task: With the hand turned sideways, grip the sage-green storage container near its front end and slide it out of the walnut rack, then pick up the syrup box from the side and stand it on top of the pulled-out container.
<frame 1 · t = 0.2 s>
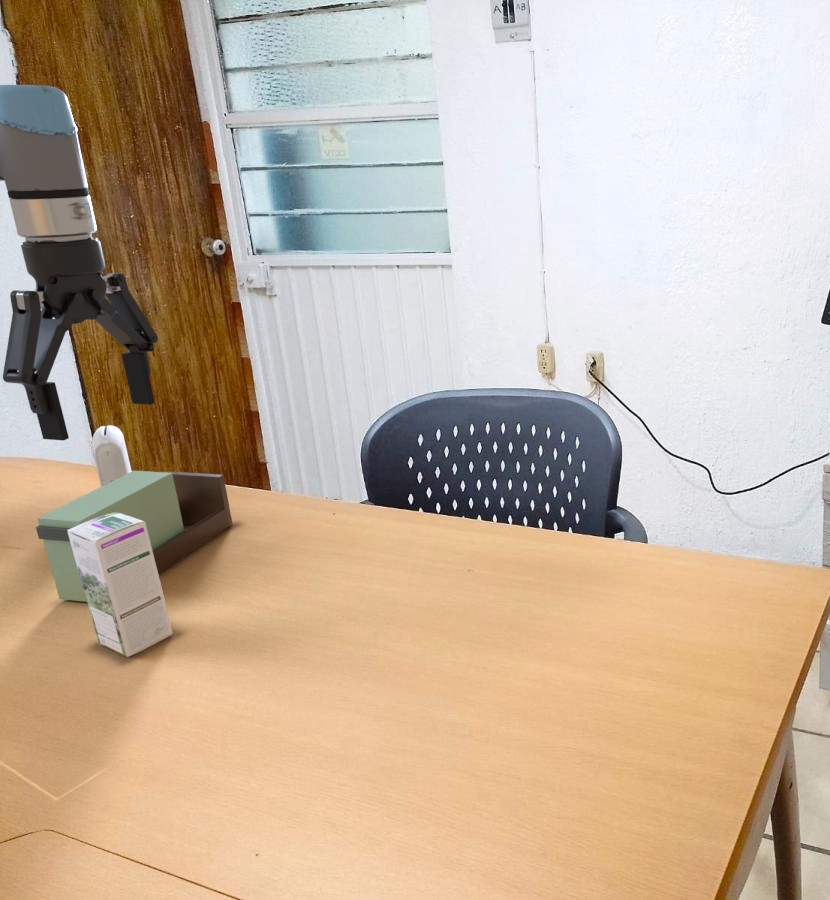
hand: (102, 420, 99), 22 cm above the table, tool pointing down, fingers open, 13 cm apart
syrup box: (136, 641, 94), on the table
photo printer: (122, 502, 133), on the table
rack: (164, 549, 116), on the table
container: (117, 533, 107), point 6 cm above the table, slide at 6.0 cm
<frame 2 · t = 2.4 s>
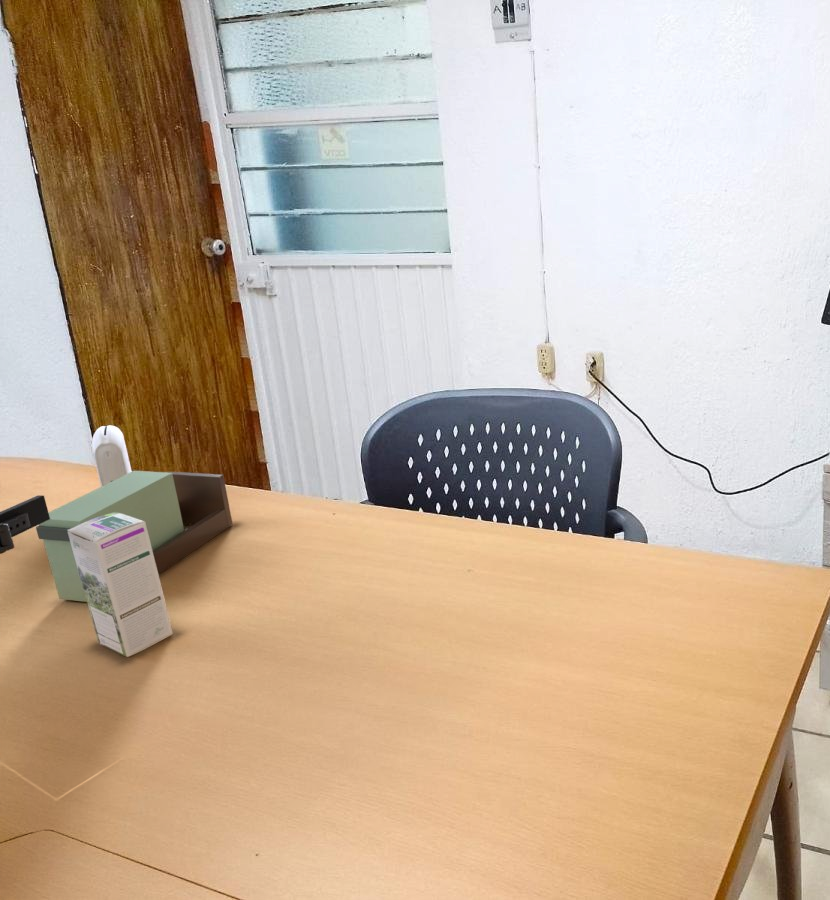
nothing on the table moved.
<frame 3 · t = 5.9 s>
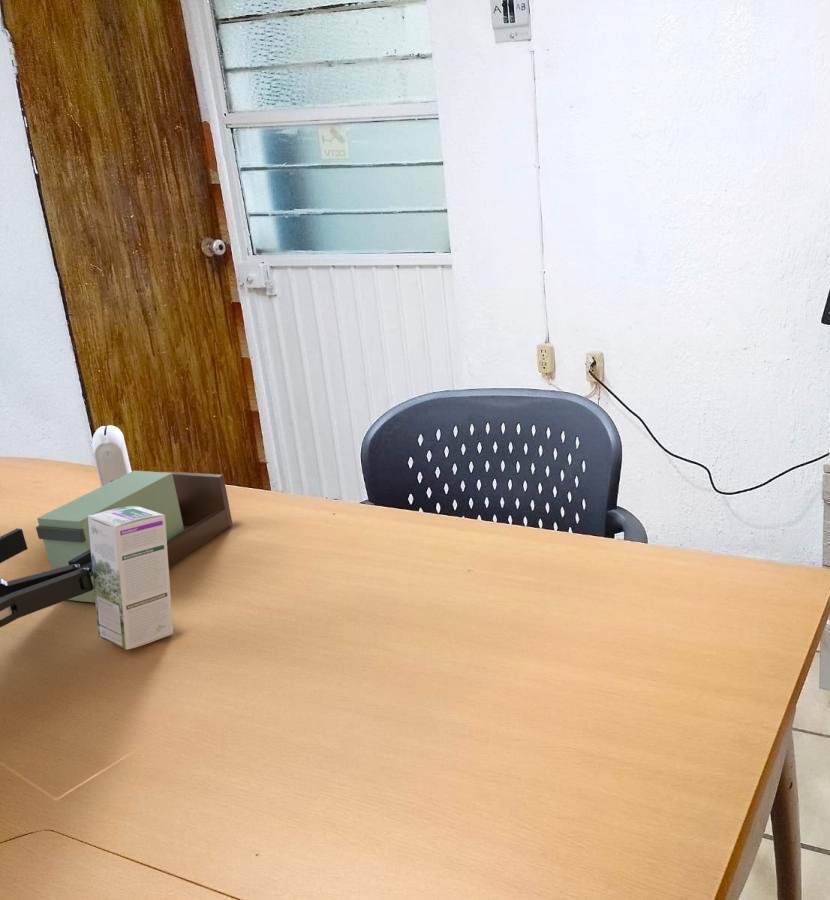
hand: (69, 542, 100), 8 cm above the table, tool horizontal, fingers open, 13 cm apart
syrup box: (135, 638, 94), on the table, touching gripper
everything else where it was.
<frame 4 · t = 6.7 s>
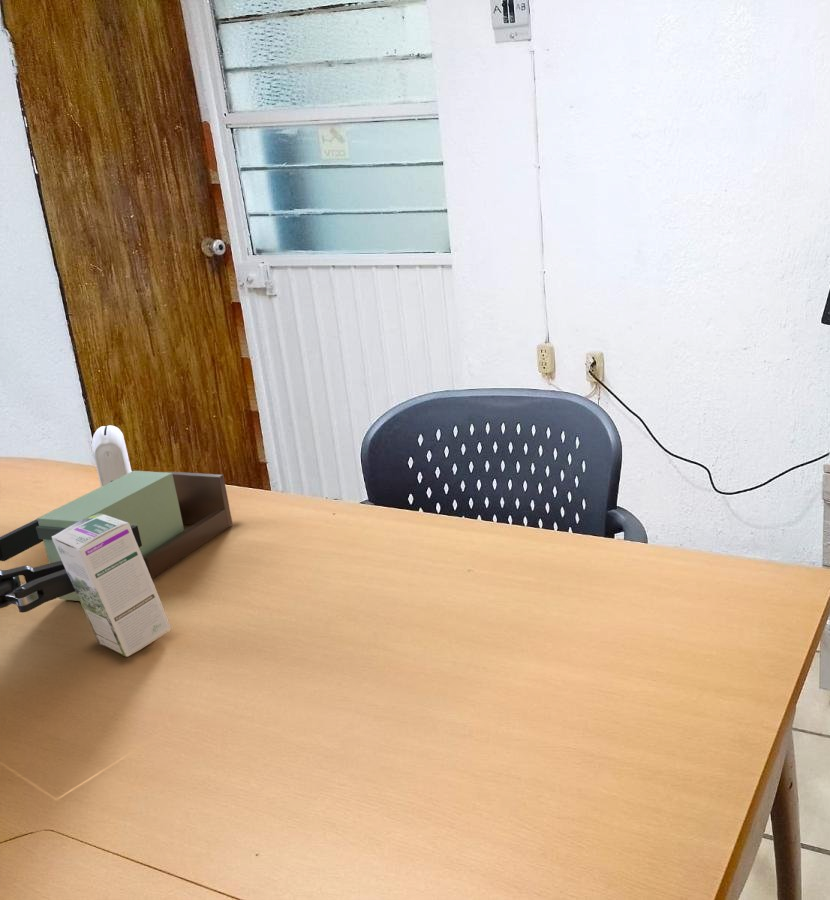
hand: (90, 531, 103), 8 cm above the table, tool horizontal, fingers open, 13 cm apart
syrup box: (135, 638, 94), on the table
everything else where it was.
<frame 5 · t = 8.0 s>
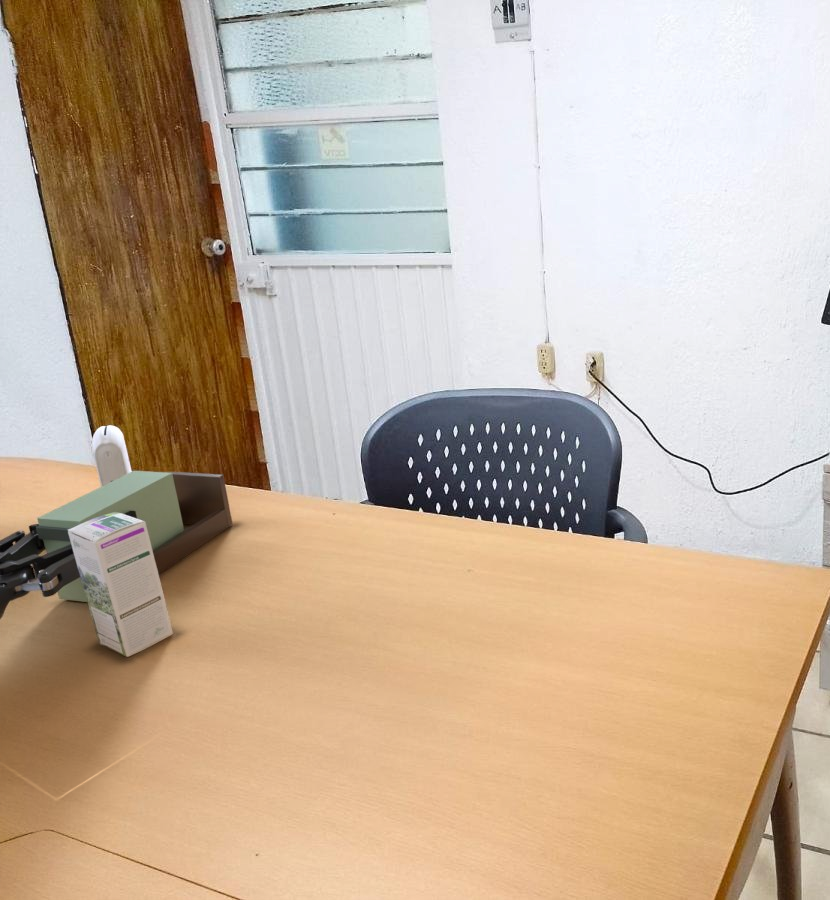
hand: (112, 518, 106), 8 cm above the table, tool horizontal, fingers closed on container, 6 cm apart
container: (117, 533, 107), point 6 cm above the table, slide at 6.0 cm, touching gripper
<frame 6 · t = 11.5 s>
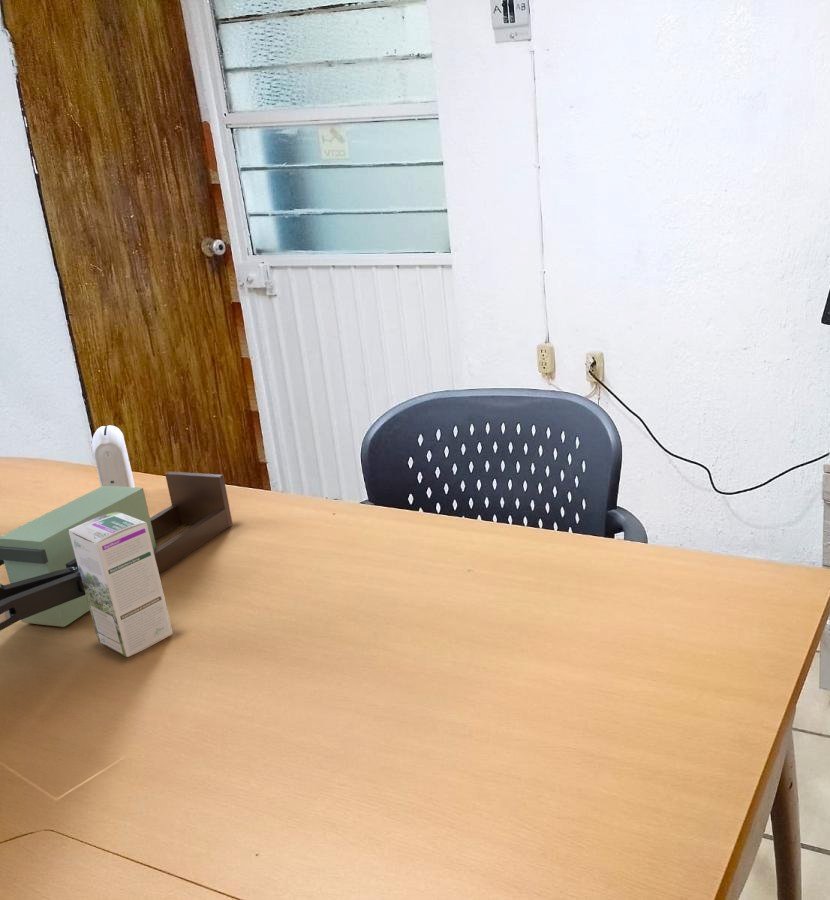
hand: (67, 545, 100), 8 cm above the table, tool horizontal, fingers open, 12 cm apart
syrup box: (136, 640, 94), on the table, touching hand
container: (84, 552, 102), point 6 cm above the table, slide at 11.5 cm
everything else where it was.
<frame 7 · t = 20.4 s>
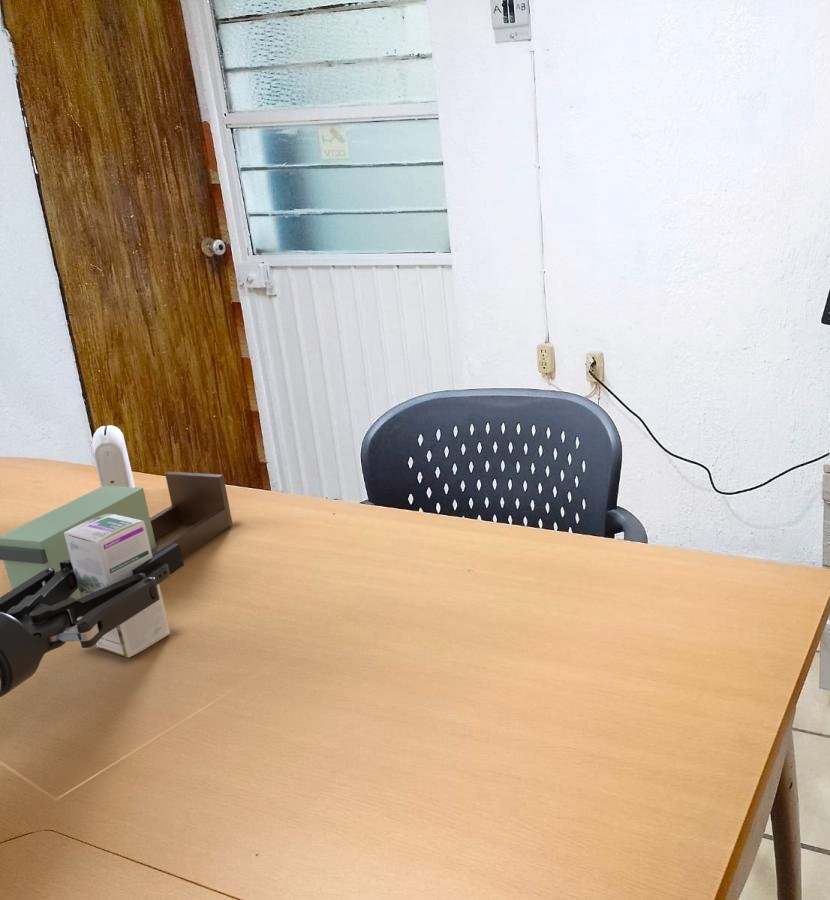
hand: (151, 552, 96), 9 cm above the table, tool horizontal, fingers closed on syrup box, 6 cm apart
syrup box: (133, 642, 94), on the table, touching gripper
everything else where it was.
when the fingers open (20 cm above the table, at t = 29.3 s): syrup box stays where it is, resting on container.
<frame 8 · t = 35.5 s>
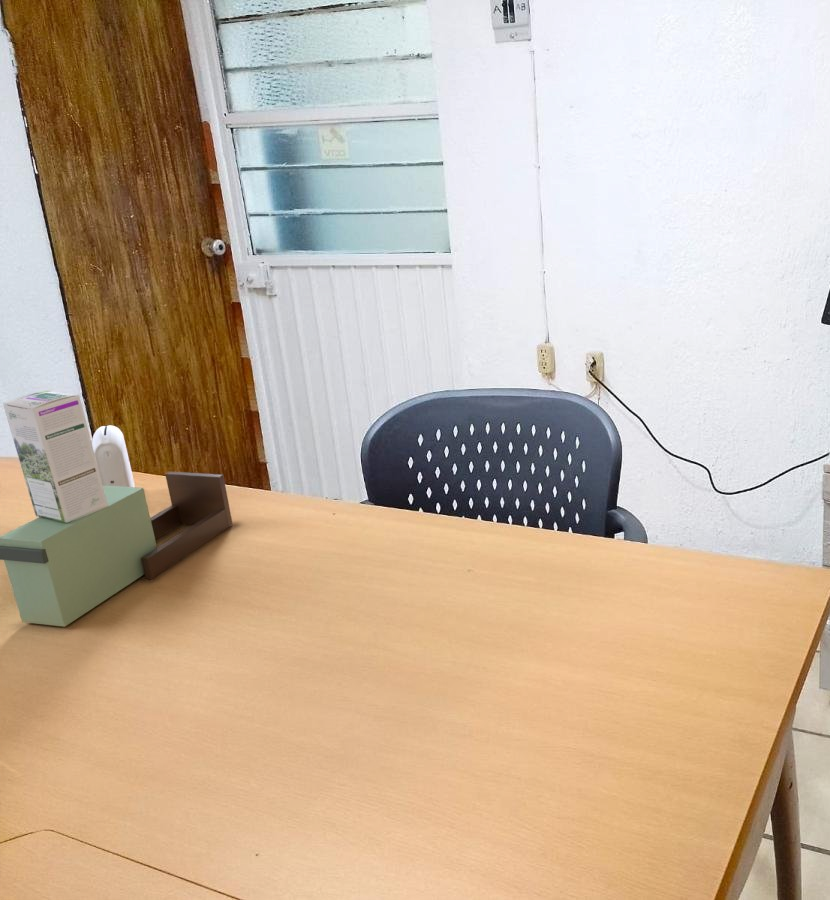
syrup box: (72, 513, 100), point 11 cm above the table, touching container
container: (84, 552, 102), point 6 cm above the table, slide at 11.4 cm, touching syrup box
everything else where it was.
at the end: container slide at 11.4 cm; syrup box inside the target area on the container (0.1 cm from its centre), point 11.1 cm above the container's base; syrup box tilted 0° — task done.
